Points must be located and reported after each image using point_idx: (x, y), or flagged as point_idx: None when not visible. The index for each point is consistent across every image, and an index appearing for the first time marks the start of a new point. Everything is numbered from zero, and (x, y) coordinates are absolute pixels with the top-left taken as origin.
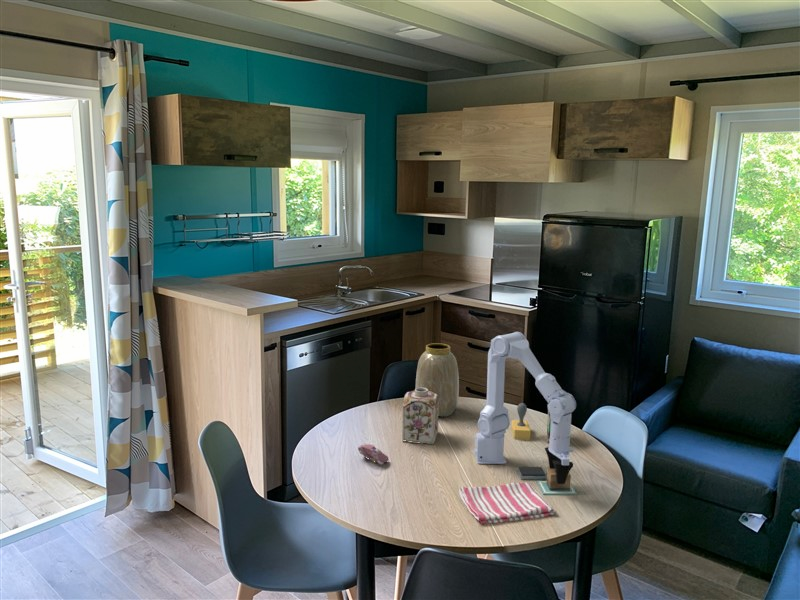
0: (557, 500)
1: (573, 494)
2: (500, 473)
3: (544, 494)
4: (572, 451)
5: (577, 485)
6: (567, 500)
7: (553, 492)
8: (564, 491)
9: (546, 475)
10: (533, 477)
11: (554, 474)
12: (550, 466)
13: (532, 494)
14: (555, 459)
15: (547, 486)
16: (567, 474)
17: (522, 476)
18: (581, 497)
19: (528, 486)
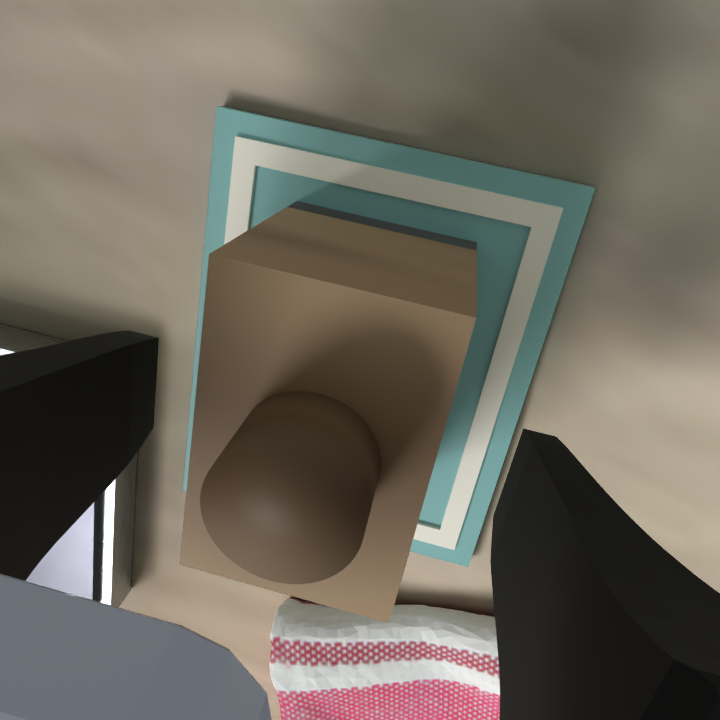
0: (633, 490)
1: (577, 239)
2: None
3: (471, 552)
4: (254, 716)
5: (335, 27)
6: (679, 386)
7: (477, 466)
8: (482, 325)
9: None
10: (123, 506)
11: (392, 573)
12: (103, 482)
13: (487, 694)
14: (9, 483)
15: None
16: (646, 541)
17: (113, 605)
18: (681, 161)
19: (347, 678)
